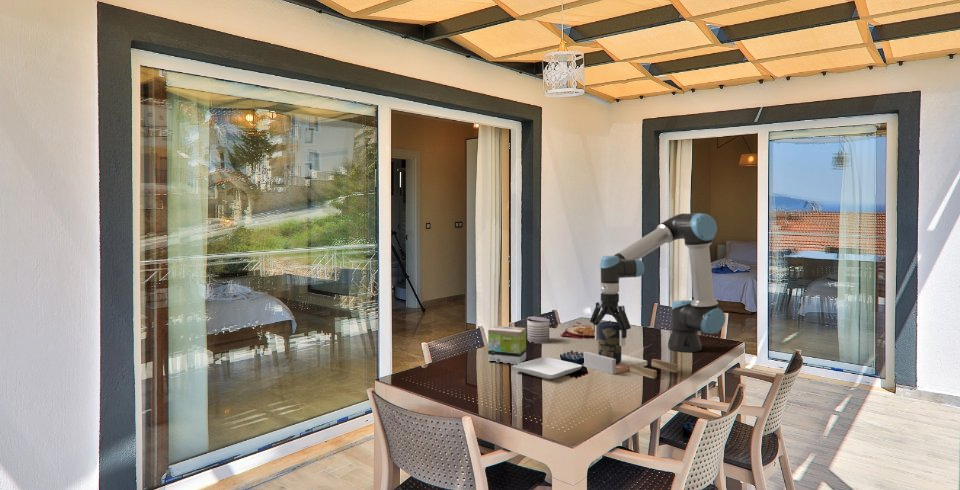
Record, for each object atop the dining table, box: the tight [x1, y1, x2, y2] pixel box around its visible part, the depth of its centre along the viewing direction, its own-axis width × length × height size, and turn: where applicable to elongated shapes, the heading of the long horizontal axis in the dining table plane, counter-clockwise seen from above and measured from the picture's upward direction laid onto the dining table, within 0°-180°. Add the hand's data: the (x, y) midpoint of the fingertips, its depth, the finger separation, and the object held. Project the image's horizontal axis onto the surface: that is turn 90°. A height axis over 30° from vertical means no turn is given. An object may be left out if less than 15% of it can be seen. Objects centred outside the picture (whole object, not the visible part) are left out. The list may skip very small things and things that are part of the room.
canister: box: [597, 320, 622, 364], centre depth 241 cm, size 10×10×18 cm
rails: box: [629, 358, 679, 380], centre depth 234 cm, size 16×12×3 cm
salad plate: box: [512, 356, 583, 380], centre depth 236 cm, size 21×21×3 cm
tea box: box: [487, 325, 527, 365], centre depth 254 cm, size 15×10×15 cm, turn 70°
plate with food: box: [560, 321, 595, 340], centre depth 309 cm, size 25×26×4 cm
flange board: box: [582, 351, 648, 375], centre depth 244 cm, size 22×16×6 cm
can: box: [526, 316, 550, 344], centre depth 293 cm, size 11×11×12 cm
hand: (609, 342), depth 241 cm, fingers open, 13 cm apart
